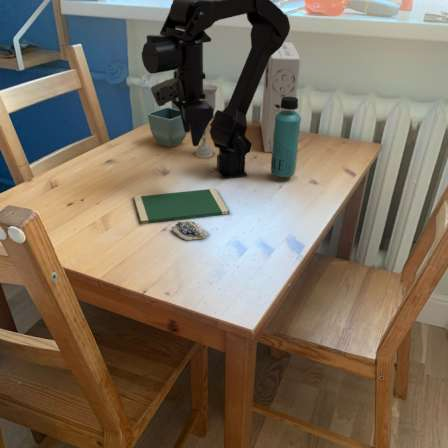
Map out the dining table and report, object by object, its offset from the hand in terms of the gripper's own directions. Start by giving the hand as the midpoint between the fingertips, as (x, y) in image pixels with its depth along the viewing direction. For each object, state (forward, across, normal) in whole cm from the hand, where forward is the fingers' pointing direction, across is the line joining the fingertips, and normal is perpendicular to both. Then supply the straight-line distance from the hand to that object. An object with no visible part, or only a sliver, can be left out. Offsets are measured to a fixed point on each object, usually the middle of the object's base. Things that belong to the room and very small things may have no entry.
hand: (191, 138), depth 113 cm
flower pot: (+12, -30, 0) cm, 32 cm away
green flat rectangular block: (+12, +10, -5) cm, 16 cm away
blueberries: (+12, +22, -5) cm, 26 cm away
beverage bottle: (+12, 0, +24) cm, 27 cm away
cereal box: (+12, -27, +32) cm, 44 cm away
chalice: (+12, -20, +8) cm, 25 cm away
